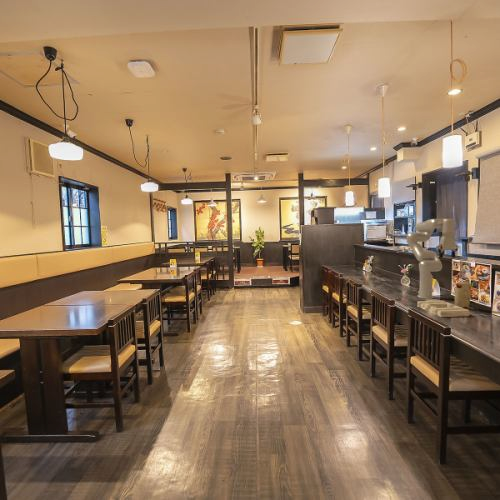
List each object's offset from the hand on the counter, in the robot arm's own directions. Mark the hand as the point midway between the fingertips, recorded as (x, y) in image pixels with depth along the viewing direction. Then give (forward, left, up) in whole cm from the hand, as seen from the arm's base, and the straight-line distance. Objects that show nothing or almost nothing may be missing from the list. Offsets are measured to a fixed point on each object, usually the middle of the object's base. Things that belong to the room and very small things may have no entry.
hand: (447, 257), depth 232 cm
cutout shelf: (+16, -14, -37) cm, 42 cm away
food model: (+11, +5, -37) cm, 39 cm away
